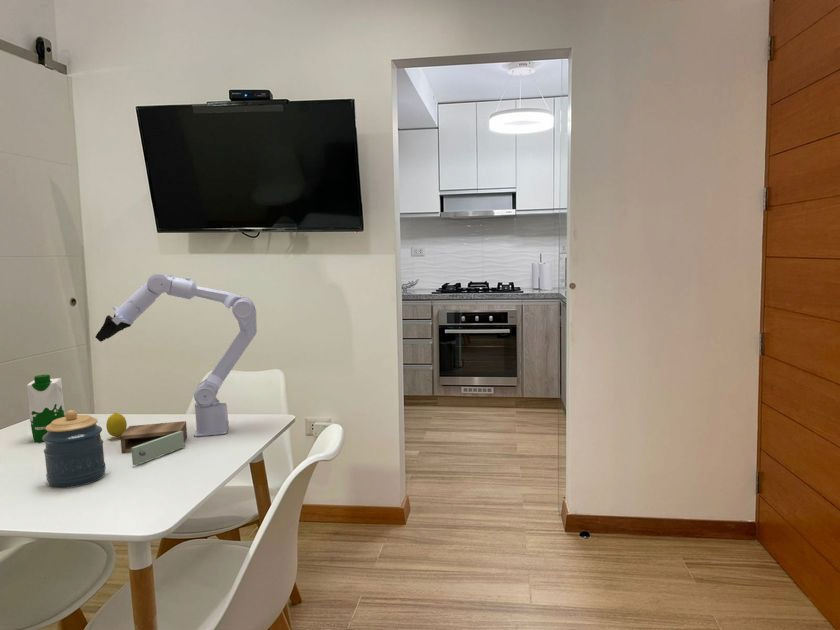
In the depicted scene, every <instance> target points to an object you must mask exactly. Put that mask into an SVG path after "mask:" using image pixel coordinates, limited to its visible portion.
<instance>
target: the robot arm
mask: <svg viewBox="0 0 840 630" xmlns="http://www.w3.org/2000/svg"><path fill="white" fill-rule="evenodd" d="M164 293H165V294H167V295H168V296H172V297H177V298H182V299H186V300H191V299H193V298H194V297H198V298H202V299H206V300H210V301H214V302H219V303H222V304H223V305H224V306H225V307H226V308H227V309H229V310H230V308H232V315H233V316H234V317H235V320H237V323H238V327H239V332H238V333H237V335H236V337H235V338H234V339H233V341H231V343H230V344H229V346H228V348H227V349H226V351H225V352H224V354H223V355H222V357H221V358H220V359H219V361H217V364H216V365H215V367H214V368H213V369H212V371H211V372H210V373H209V375H208V376H207V378H206V379H204V380H203V381H201V382H199V384H197V388H196V390H195V392H194V394H193V398H194V399H193V400H194V401H195V403H194V410H195V411H194V412H195V424H196V425H195V426H196V429H195V432H194V434H193V436H194V437H197V438H198V437H208V436H215V435H216V436H217V435H225V434H228V431H229V426H230V423H229V422H230V421H229V417H228V416H229V415H228V414H229V413H228V405H227V403H226V402H220V400H219V399H218V398H217V395H218V393H219V392H218V391H219V390H220V388H221V386H222V384H223V383H224V381H225V380H226V379H227V377H228V375H229V374H230V373H231V371H233V368H234V367H235V365H236V364H237V363H238V361H239V360H240V358H241V356H242V355H243V354H244V352H245V351H246V350H247V348H248V347H249V345H250V344H251V342H252V341H253V339H254V338H255V336H256V334H257V332H258V331H257V330H258V329H257V309H256V306H255V304H254V302H253V300H252V299H251V298H249V297H247V296H242V295H240V294H239V293H234V292H231V291H226V290H220V289H217V288H216V289H215V288H210V287H204V286H200V285H197V284H196V282H195V280H191V278H190V277H187V276H186V277H184V278H181V277H177V276H173V274H170V273H169V274H168V276H167V275H166V274H165V273H155V274H152V275H150V277H148V279H147V282H145V283H144V284H143V285H142V286H140V287H139V288H138V289H137V290H135V291H134V293H132V294H131V295H129V298H127V299H126V300H124V302H123V303H122V304H121V305H120V306H119V307H117V306H116V305H114V306H113V307H112V309H113V311H114V315H113V317H112V316H111V315H110V314H109V315H106V317H105V319H104V322H103V324H102V326H101V328H100V329H99V331H98V332H97V334H96V335H95V337H94V338H96V339H97V340H98V341H99V342H100V343H102V342H103V341H105V340H107V339H109V338H112V337H113V336H115V335H116V334H117V333H119V332H121V331H123V330H124V329H127V328H130V327H131V326H132V325H133V324H134V322H135V321H136V320H137V319H138V318H139V317H140V316H141V315H142V314H144V313H145V311H146V310H148V309H149V307H151V306H152V304H154V303H155V302H156V300H157V299H158V298H159V297H160V296H161V295H162V294H164Z"/></svg>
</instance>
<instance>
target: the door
mask: <svg viewBox="0 0 840 630" xmlns="http://www.w3.org/2000/svg"><path fill="white" fill-rule="evenodd" d="M184 447H185V443H184V438H183V431H178V432H175V433H173V434H170V435H167V436H164V437H161V438H158V439H155V440H152V441H149V442H147V443H144V444H141V445H138V446H135V447H132V448H131V450H132V452H131V458H132V461H131V462H132V465H133V466H137V465H139V464H142V463H146V462H148V461H150V460H153V459H156V458H158V457H161V456H163V455H167V454H169V453H172V452H175V451H176V450H180V449H182V448H184Z"/></svg>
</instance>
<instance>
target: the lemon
mask: <svg viewBox="0 0 840 630" xmlns="http://www.w3.org/2000/svg"><path fill="white" fill-rule="evenodd" d="M127 423H128V422H127V420H126V417H125V416H124V415H123V414H121V413H118V412H114V413H113V414H111V415H109V417H108V418H107V419H106V426H105V427H106V431H107V433H108V434H109V435H110V436H112V437H114V438H116V439H120V436H121V435H122V433H123V432H124V431H125V430H126V429H127V428H128V424H127Z"/></svg>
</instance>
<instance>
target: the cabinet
mask: <svg viewBox="0 0 840 630" xmlns="http://www.w3.org/2000/svg"><path fill="white" fill-rule="evenodd" d="M187 429H188V428H187V421H186V420H183V421H172V422H161V423H151V424H150V423H149V424H140V425H139V424H137V425H129V426H127V428H126V430H125V431H124V432H123V433H122V435H121V436H120V437H119V439H120V445H121V446H120V449H121V450H120V451H121V454H128V453H132V450H131V448H132V447H135V446H138V445H141V444H144V443H147V442H149V441H152V440H155V439H158V438H161V437H164V436H167V435H170V434H173V433H175V432H178V431H183V438H184V444H185V443H186V440H187V438H188V430H187Z"/></svg>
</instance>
